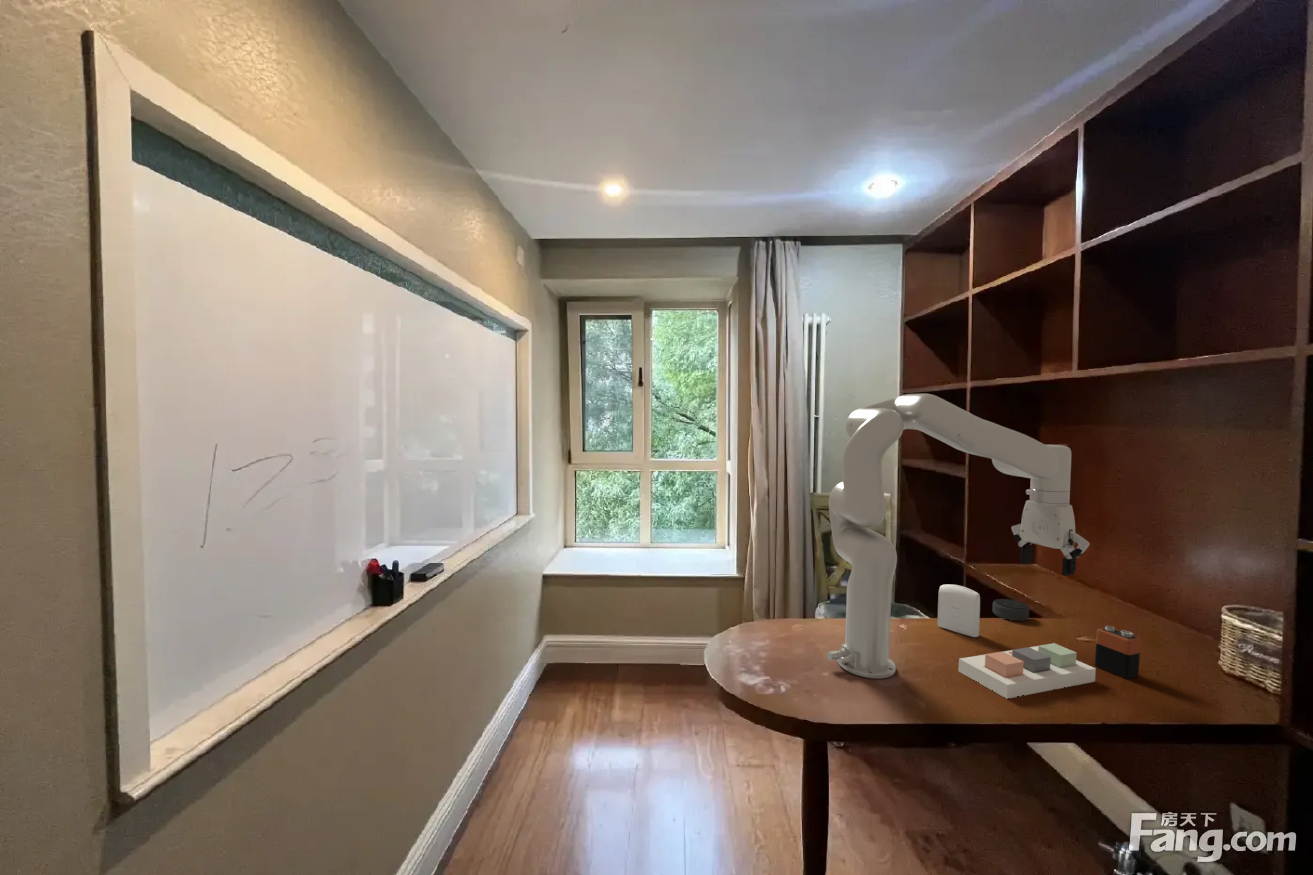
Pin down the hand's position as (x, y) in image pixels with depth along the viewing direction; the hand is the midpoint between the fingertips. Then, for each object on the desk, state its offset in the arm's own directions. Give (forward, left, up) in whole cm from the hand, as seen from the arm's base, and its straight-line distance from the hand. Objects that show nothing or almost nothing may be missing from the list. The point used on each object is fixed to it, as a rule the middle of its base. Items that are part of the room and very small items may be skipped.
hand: (1046, 568), depth 126 cm
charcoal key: (-10, -5, -20) cm, 23 cm away
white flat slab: (-10, -4, -23) cm, 25 cm away
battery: (+13, -8, -23) cm, 28 cm away
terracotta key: (-18, -5, -20) cm, 28 cm away
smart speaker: (+20, +24, -23) cm, 39 cm away
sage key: (-2, -5, -20) cm, 21 cm away
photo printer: (-4, +20, -23) cm, 31 cm away
